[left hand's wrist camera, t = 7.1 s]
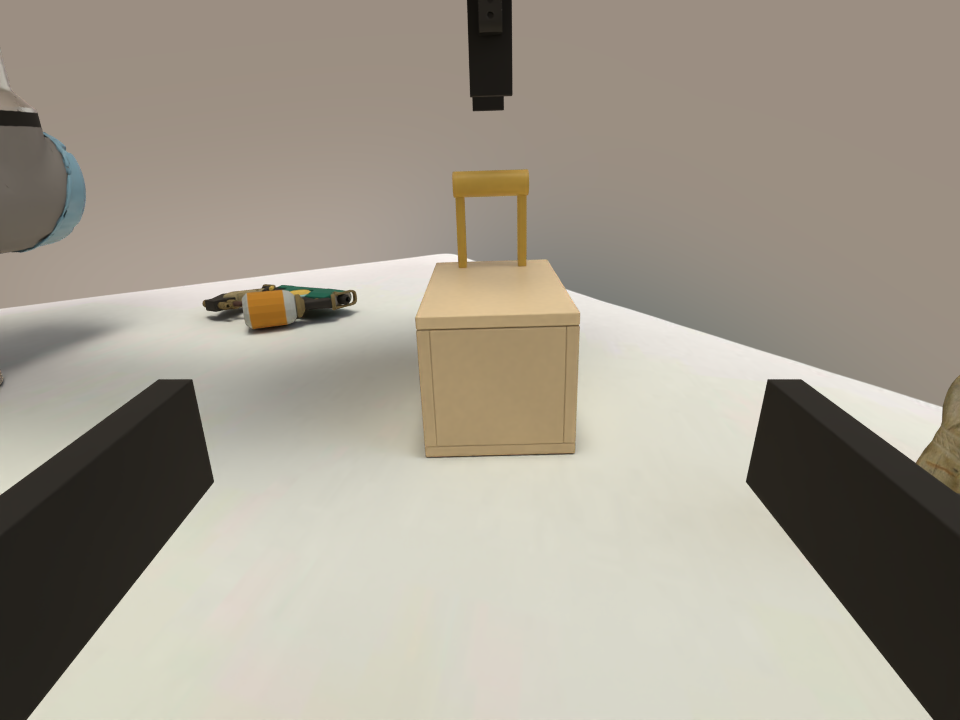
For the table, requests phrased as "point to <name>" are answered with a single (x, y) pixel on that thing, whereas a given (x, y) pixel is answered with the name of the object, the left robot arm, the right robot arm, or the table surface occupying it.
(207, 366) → the table surface
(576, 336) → the chest
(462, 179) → the lid
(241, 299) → the spray gun
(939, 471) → the sculpture
